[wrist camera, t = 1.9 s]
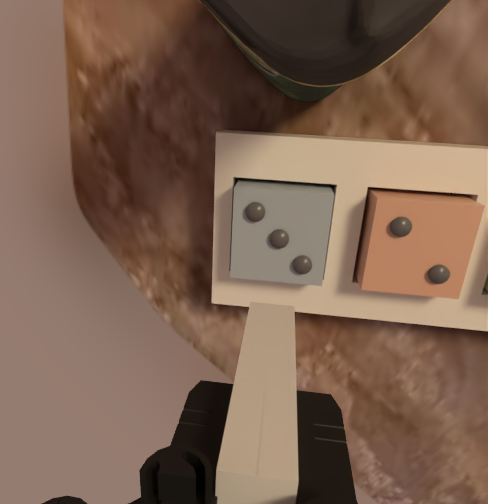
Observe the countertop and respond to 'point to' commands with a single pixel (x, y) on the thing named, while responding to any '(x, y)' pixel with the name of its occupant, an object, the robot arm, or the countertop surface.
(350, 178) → the button panel
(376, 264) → the two-pip button
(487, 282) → the one-pip button
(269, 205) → the three-pip button
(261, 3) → the coffee jar
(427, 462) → the countertop surface
